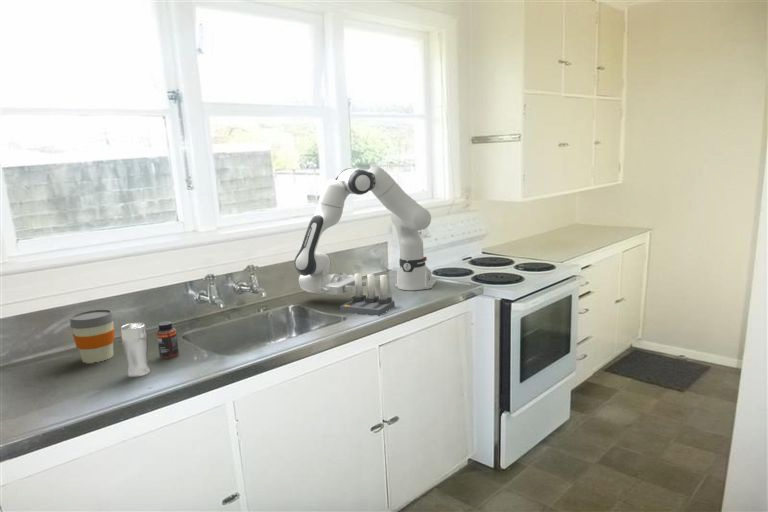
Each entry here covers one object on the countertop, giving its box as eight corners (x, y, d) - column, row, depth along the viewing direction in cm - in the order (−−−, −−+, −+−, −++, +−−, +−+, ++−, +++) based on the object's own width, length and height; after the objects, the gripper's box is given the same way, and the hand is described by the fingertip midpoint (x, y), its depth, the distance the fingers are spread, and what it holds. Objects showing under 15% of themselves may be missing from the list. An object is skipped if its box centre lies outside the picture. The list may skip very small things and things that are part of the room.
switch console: (357, 303, 225) (355, 272, 223) (394, 306, 217) (393, 274, 215) (340, 311, 213) (338, 279, 211) (379, 316, 205) (377, 282, 203)
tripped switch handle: (358, 297, 224) (356, 272, 222) (366, 298, 222) (365, 273, 220) (352, 300, 220) (350, 275, 218) (360, 301, 218) (359, 275, 216)
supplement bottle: (180, 351, 175) (177, 319, 173) (177, 358, 169) (173, 324, 167) (162, 353, 174) (158, 321, 172) (157, 360, 168) (153, 326, 166)
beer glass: (142, 378, 154) (135, 329, 151) (121, 377, 155) (114, 329, 152) (156, 369, 161) (150, 322, 158) (136, 368, 162) (129, 322, 159)
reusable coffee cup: (79, 355, 176) (72, 312, 173) (120, 348, 180) (114, 307, 178) (73, 368, 164) (65, 322, 162) (117, 361, 169) (110, 316, 166)
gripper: (318, 282, 216) (347, 284, 210) (344, 272, 234) (371, 273, 228) (319, 297, 217) (348, 299, 211) (345, 285, 235) (372, 287, 229)
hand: (360, 286), depth 220 cm, fingers open, 6 cm apart
